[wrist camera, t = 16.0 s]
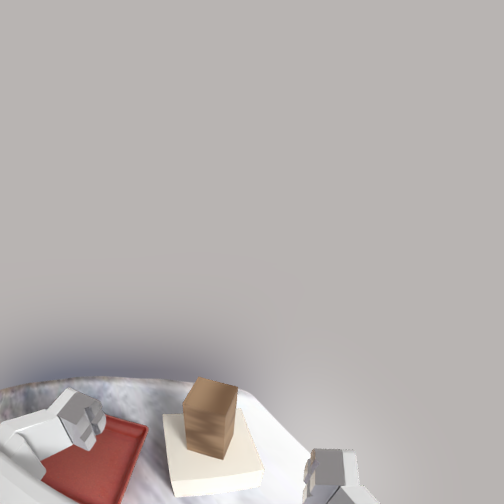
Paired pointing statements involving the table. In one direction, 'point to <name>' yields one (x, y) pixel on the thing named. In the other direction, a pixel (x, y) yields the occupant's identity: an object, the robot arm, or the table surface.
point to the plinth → (211, 461)
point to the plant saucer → (98, 464)
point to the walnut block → (210, 417)
